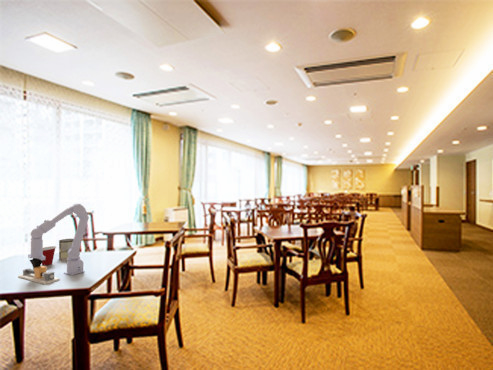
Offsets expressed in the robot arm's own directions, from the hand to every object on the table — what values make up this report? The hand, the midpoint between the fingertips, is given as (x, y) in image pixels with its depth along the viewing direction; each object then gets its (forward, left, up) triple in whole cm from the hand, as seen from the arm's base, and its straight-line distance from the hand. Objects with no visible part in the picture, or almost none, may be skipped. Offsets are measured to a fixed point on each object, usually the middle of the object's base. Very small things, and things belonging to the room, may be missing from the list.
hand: (36, 270), depth 166 cm
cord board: (-2, 0, -4) cm, 5 cm away
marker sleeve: (-4, 0, -3) cm, 5 cm away
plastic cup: (+26, -19, -5) cm, 33 cm away
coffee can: (+31, -36, -5) cm, 48 cm away
